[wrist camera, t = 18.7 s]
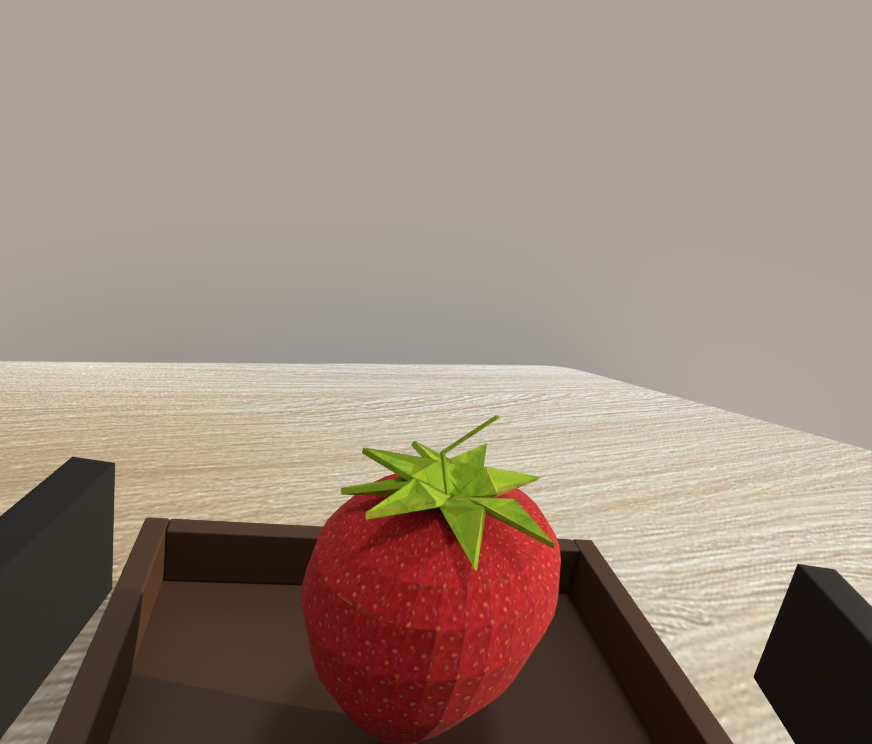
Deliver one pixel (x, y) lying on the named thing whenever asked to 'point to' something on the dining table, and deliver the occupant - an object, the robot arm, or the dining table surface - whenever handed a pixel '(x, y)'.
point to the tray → (296, 675)
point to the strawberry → (429, 591)
